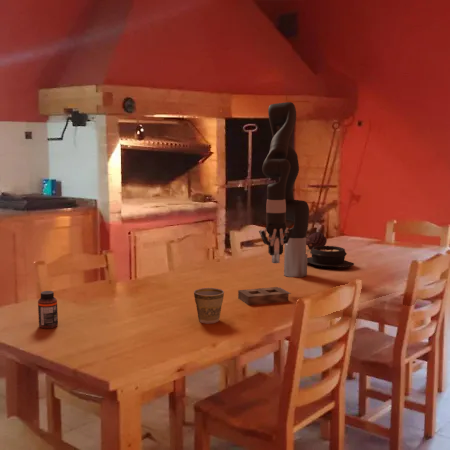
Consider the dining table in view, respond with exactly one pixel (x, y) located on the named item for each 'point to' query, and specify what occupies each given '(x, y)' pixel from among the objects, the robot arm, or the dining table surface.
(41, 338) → the dining table surface
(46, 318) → the supplement bottle
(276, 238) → the pin
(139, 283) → the dining table surface
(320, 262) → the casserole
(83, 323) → the dining table surface
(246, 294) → the socket block
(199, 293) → the ceramic cup
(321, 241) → the pine cone
